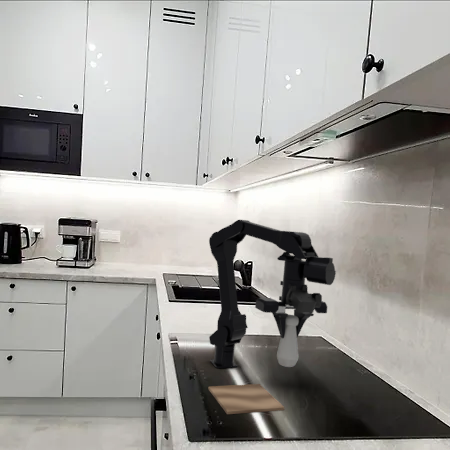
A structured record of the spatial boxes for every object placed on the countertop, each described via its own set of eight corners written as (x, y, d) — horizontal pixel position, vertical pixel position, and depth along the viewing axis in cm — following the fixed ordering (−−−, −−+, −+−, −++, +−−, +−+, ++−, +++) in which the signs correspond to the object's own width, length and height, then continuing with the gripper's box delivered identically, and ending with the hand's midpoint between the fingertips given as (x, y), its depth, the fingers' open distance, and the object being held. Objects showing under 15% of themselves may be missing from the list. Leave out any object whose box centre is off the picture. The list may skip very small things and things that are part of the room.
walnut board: (208, 388, 105) (208, 386, 105) (259, 386, 109) (259, 383, 109) (227, 414, 91) (227, 411, 91) (284, 409, 96) (284, 407, 96)
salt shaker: (295, 361, 114) (299, 314, 114) (300, 368, 108) (304, 318, 108) (274, 360, 113) (278, 312, 113) (277, 367, 108) (282, 316, 108)
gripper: (276, 282, 100) (270, 347, 100) (342, 285, 106) (336, 346, 106) (257, 276, 111) (252, 335, 110) (318, 278, 117) (313, 334, 117)
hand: (288, 337), depth 111 cm, fingers closed on salt shaker, 3 cm apart
